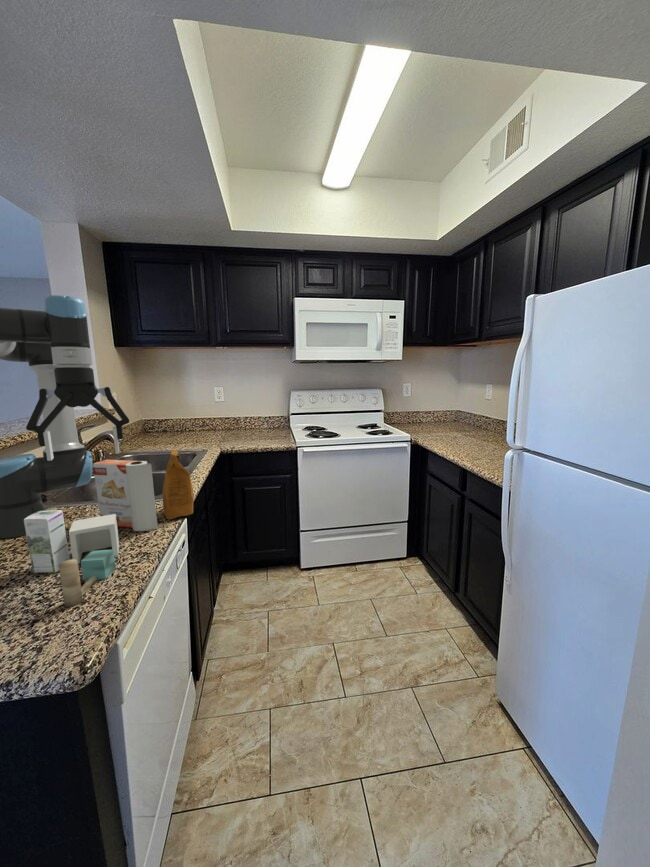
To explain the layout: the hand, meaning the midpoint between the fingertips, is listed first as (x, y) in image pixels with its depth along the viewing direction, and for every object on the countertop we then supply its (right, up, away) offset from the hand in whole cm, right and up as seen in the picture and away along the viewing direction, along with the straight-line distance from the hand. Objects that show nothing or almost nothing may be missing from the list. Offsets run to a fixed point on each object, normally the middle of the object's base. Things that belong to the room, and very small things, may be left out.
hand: (85, 456), depth 87 cm
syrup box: (-11, -29, +4) cm, 31 cm away
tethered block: (+4, -30, -4) cm, 30 cm away
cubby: (-4, -27, +11) cm, 30 cm away
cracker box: (-7, -24, +31) cm, 40 cm away
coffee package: (+7, -23, +39) cm, 46 cm away
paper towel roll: (+1, -25, +27) cm, 37 cm away
